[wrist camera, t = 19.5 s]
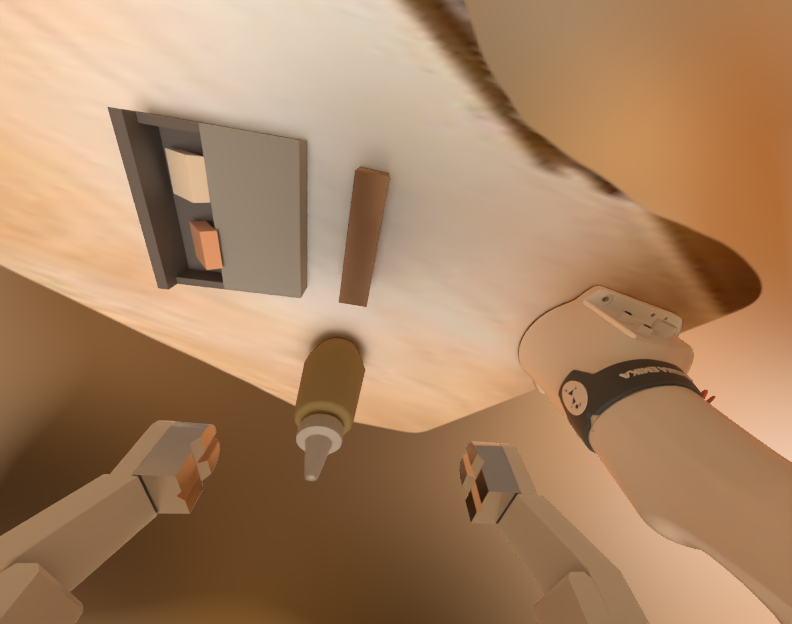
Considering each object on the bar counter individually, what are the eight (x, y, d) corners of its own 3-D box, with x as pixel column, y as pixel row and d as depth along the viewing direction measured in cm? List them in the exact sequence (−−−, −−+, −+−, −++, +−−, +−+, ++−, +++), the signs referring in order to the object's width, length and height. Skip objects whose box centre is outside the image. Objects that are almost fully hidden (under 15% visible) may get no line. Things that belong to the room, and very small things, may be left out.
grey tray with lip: (307, 141, 28) (294, 139, 24) (306, 287, 36) (297, 304, 32) (148, 113, 27) (107, 107, 23) (183, 272, 34) (158, 288, 30)
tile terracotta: (216, 230, 29) (199, 231, 28) (222, 268, 31) (206, 270, 30) (205, 220, 31) (189, 220, 30) (211, 255, 33) (196, 257, 32)
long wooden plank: (388, 173, 30) (389, 178, 25) (368, 284, 36) (366, 306, 31) (360, 166, 30) (355, 170, 24) (345, 280, 36) (338, 302, 31)
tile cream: (204, 156, 26) (185, 154, 25) (210, 202, 28) (193, 202, 27) (183, 149, 28) (164, 147, 27) (190, 193, 30) (173, 193, 28)
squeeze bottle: (327, 380, 44) (296, 509, 28) (299, 341, 40) (245, 464, 24) (375, 364, 43) (370, 489, 27) (351, 322, 39) (329, 439, 23)
